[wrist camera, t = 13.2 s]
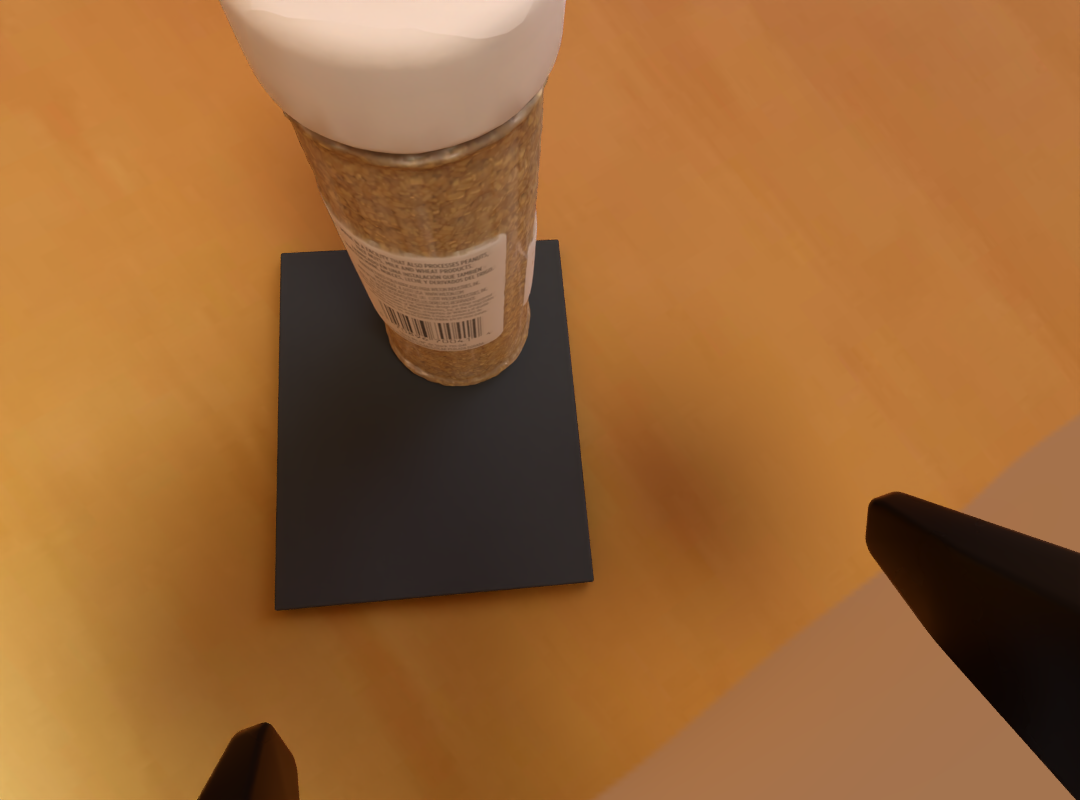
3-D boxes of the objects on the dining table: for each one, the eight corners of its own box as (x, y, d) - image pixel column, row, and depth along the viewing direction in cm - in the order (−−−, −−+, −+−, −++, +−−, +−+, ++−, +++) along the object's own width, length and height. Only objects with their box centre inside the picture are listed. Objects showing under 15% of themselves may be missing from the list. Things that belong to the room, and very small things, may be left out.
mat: (591, 581, 19) (594, 581, 19) (280, 610, 19) (274, 611, 18) (557, 246, 22) (558, 238, 22) (285, 259, 21) (280, 252, 21)
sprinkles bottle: (553, 294, 21) (637, -160, 8) (488, 416, 20) (463, 113, 7) (427, 234, 21) (315, -296, 8) (356, 351, 20) (97, -56, 7)
